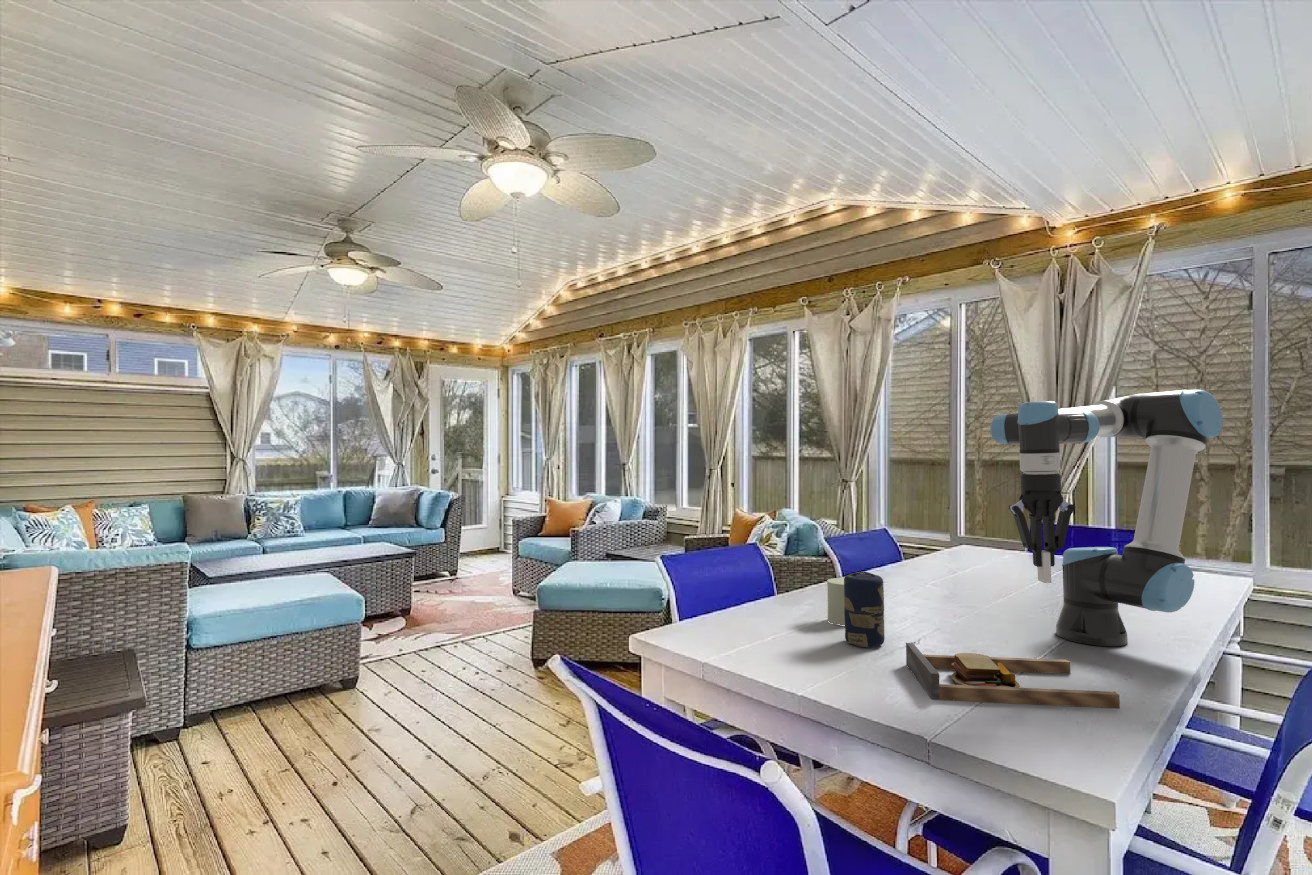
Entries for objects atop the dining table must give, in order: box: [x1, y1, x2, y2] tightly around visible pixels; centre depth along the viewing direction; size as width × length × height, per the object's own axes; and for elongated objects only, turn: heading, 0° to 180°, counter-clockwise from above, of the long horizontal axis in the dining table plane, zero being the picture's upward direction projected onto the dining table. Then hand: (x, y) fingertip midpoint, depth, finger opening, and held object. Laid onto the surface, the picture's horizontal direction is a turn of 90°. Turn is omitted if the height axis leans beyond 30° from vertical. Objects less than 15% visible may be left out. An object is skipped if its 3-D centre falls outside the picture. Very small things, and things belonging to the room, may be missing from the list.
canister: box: [843, 571, 885, 648], centre depth 160 cm, size 10×10×18 cm
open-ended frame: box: [905, 642, 1121, 709], centre depth 132 cm, size 34×20×5 cm, turn 82°
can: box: [826, 577, 845, 625], centre depth 180 cm, size 9×9×12 cm
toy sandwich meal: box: [950, 652, 1021, 688], centre depth 133 cm, size 12×14×5 cm
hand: (1044, 581), depth 139 cm, fingers closed
